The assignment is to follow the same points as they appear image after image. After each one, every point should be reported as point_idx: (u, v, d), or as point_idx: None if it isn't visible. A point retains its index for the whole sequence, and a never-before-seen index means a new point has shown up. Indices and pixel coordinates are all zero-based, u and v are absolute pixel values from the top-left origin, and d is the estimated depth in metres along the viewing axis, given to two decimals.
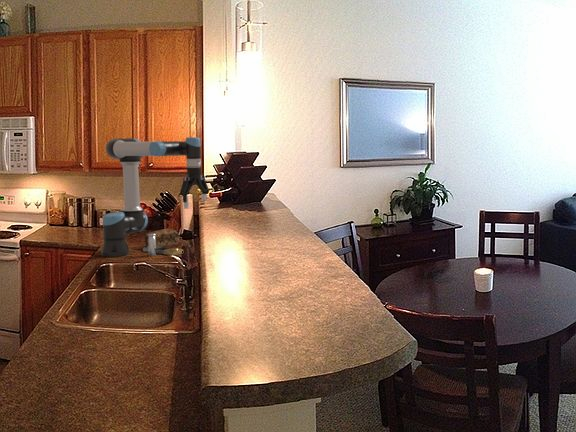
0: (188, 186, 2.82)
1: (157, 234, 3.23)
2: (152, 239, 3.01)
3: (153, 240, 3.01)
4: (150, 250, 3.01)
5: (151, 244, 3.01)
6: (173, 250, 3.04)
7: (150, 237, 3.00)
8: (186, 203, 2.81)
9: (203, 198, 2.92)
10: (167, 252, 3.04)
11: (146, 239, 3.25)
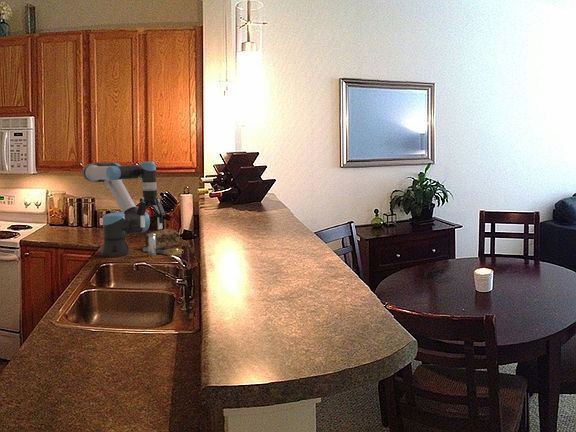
0: None
1: (157, 234, 3.23)
2: (152, 239, 3.01)
3: (153, 240, 3.01)
4: (150, 250, 3.01)
5: (151, 244, 3.01)
6: (173, 250, 3.04)
7: (150, 237, 3.00)
8: None
9: None
10: (167, 252, 3.04)
11: (146, 239, 3.25)
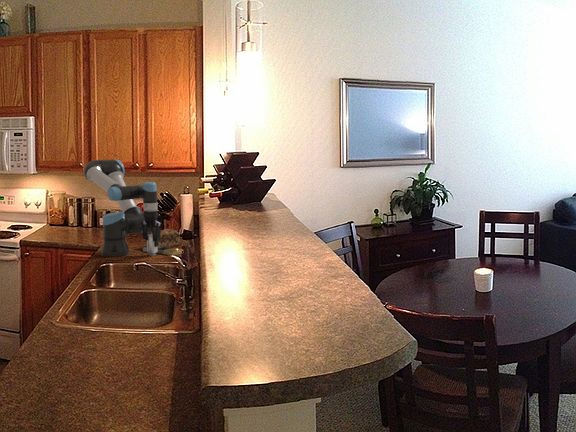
0: None
1: None
2: (152, 239, 3.01)
3: None
4: (150, 250, 3.01)
5: (151, 244, 3.01)
6: (173, 250, 3.04)
7: (150, 237, 3.00)
8: None
9: None
10: (167, 252, 3.04)
11: None
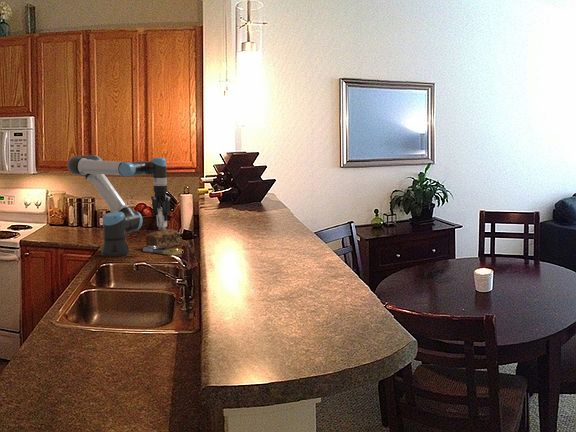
0: None
1: (158, 234, 3.22)
2: (162, 213, 3.07)
3: None
4: (160, 224, 3.07)
5: (161, 218, 3.07)
6: (173, 250, 3.04)
7: (160, 211, 3.06)
8: None
9: None
10: (167, 252, 3.04)
11: (147, 239, 3.24)
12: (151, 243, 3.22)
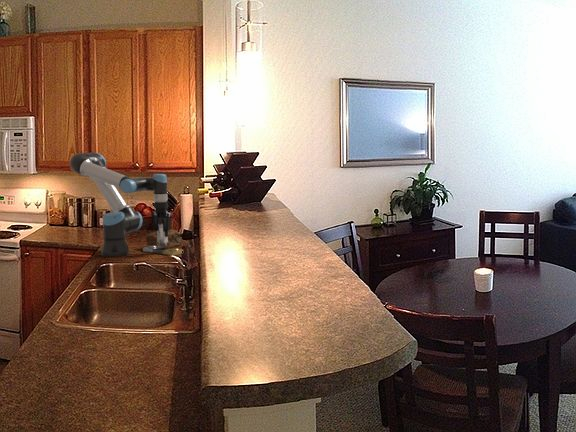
0: None
1: None
2: (162, 229, 3.08)
3: (163, 230, 3.08)
4: (161, 240, 3.09)
5: (161, 234, 3.08)
6: (173, 250, 3.04)
7: (161, 227, 3.08)
8: None
9: None
10: (167, 252, 3.04)
11: (148, 240, 3.24)
12: (151, 243, 3.22)
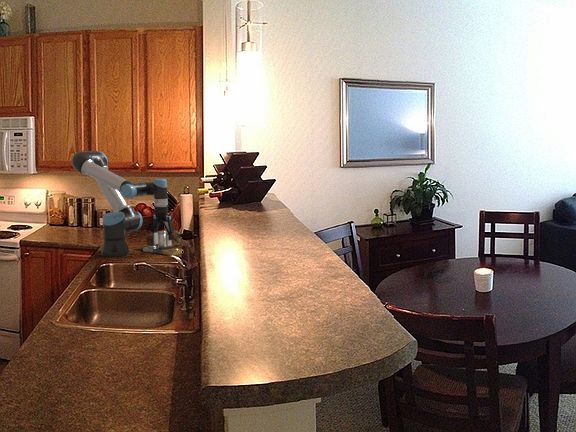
0: None
1: None
2: (162, 236, 3.09)
3: (163, 237, 3.09)
4: (160, 247, 3.09)
5: (161, 241, 3.09)
6: (173, 250, 3.04)
7: (161, 234, 3.08)
8: None
9: None
10: (167, 252, 3.04)
11: (148, 240, 3.23)
12: (152, 243, 3.22)
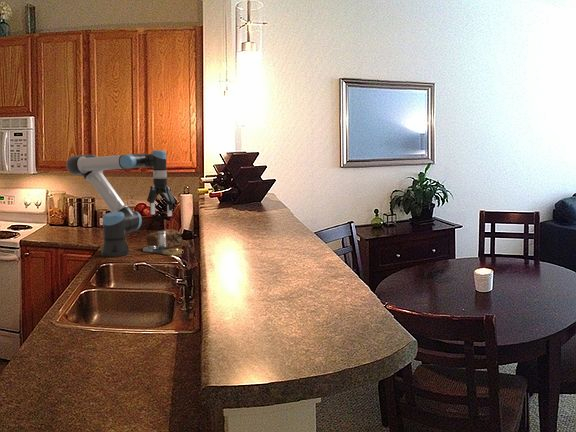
0: None
1: None
2: (162, 236, 3.09)
3: (163, 237, 3.09)
4: (160, 247, 3.09)
5: (161, 241, 3.09)
6: (173, 250, 3.04)
7: (160, 234, 3.08)
8: None
9: None
10: (167, 252, 3.04)
11: (148, 240, 3.23)
12: (152, 243, 3.22)
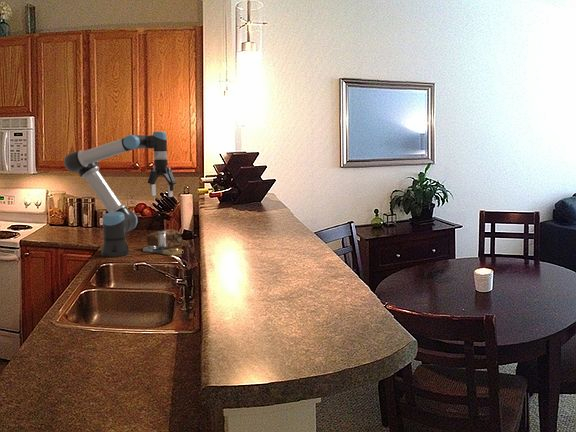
0: None
1: None
2: (162, 236, 3.09)
3: (163, 237, 3.09)
4: (160, 247, 3.09)
5: (161, 241, 3.09)
6: (173, 250, 3.04)
7: (161, 235, 3.08)
8: None
9: None
10: (167, 252, 3.04)
11: (148, 240, 3.23)
12: (152, 243, 3.21)
